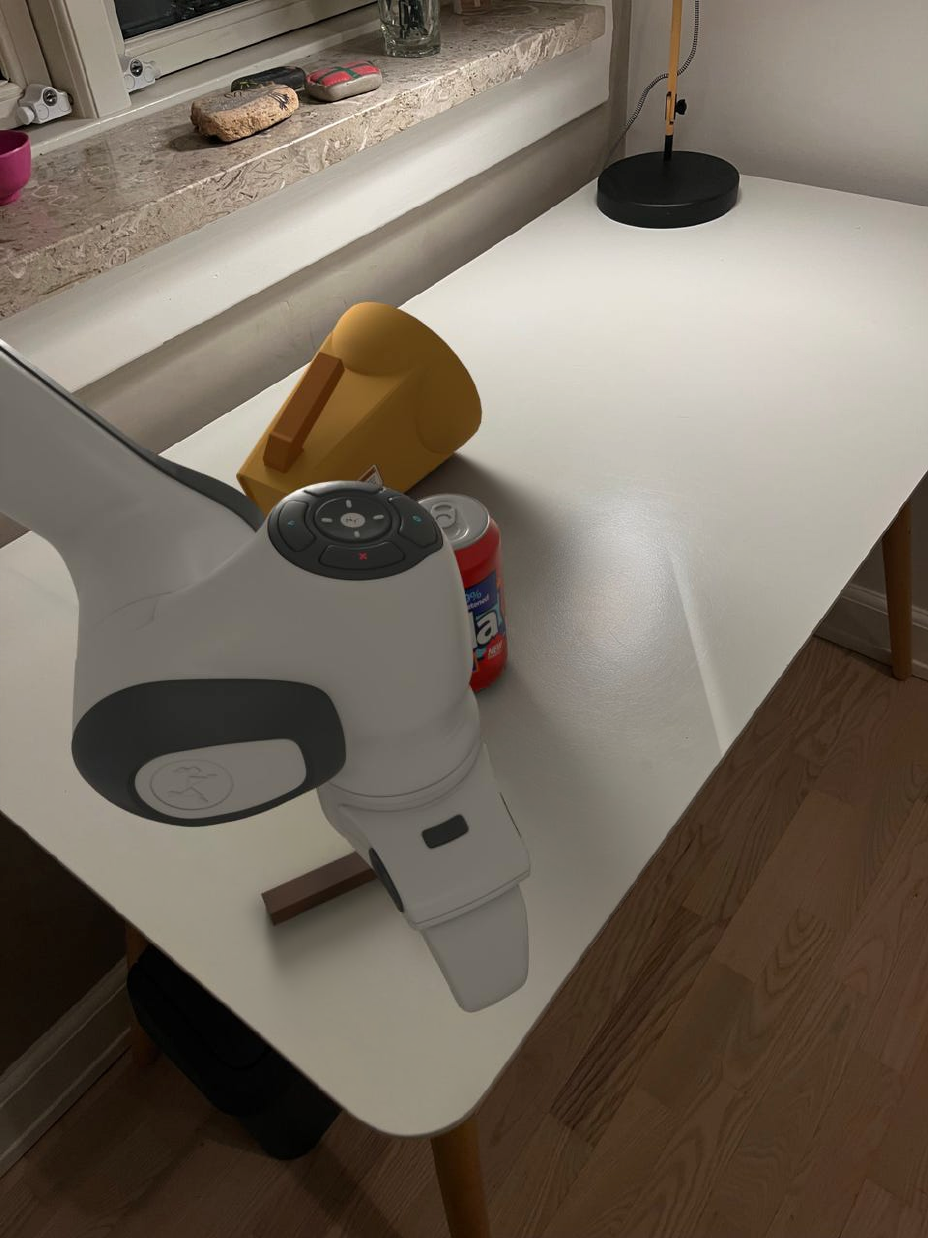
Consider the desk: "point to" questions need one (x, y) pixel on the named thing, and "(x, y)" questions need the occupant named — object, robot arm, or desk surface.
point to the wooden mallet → (317, 887)
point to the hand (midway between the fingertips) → (425, 905)
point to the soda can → (477, 578)
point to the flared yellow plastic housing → (366, 410)
